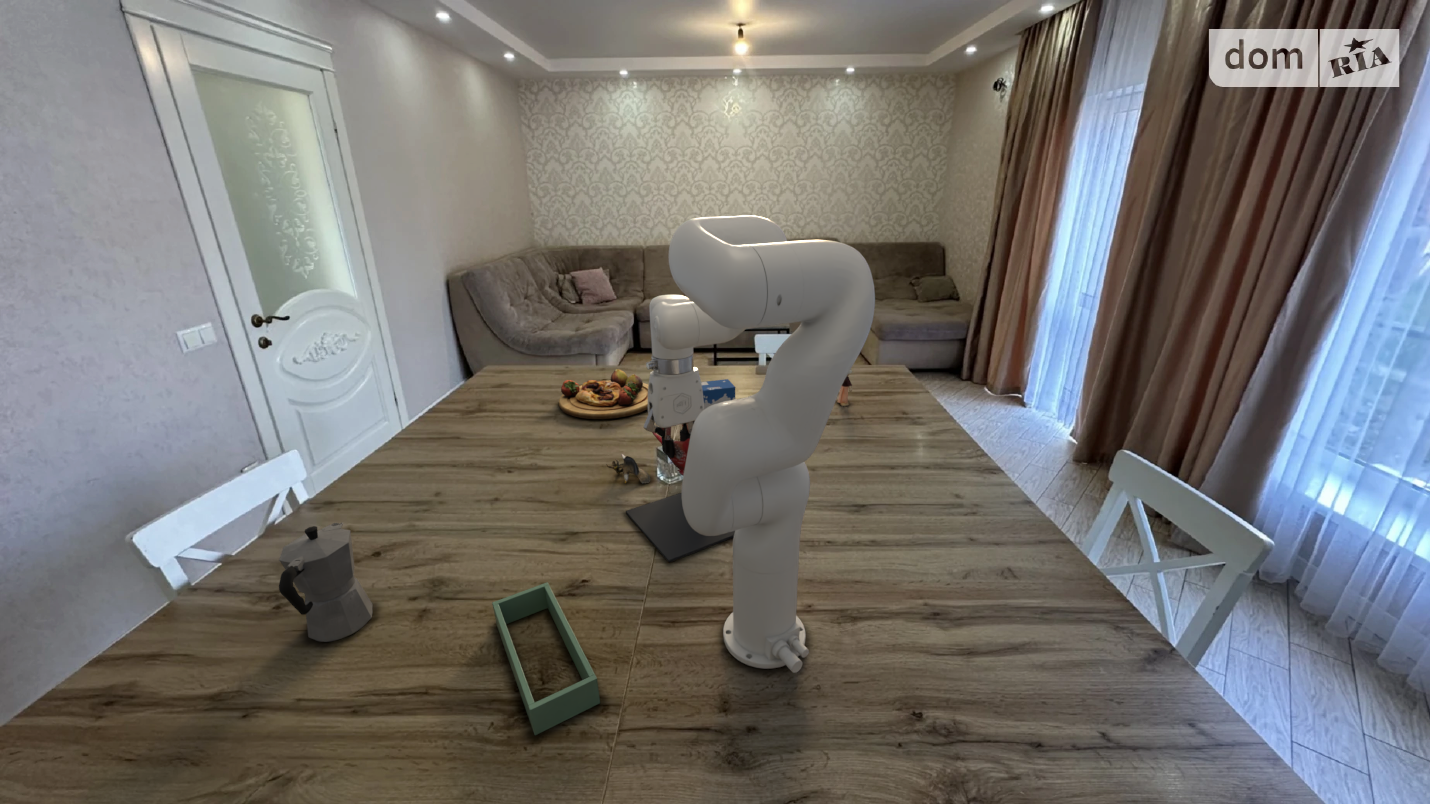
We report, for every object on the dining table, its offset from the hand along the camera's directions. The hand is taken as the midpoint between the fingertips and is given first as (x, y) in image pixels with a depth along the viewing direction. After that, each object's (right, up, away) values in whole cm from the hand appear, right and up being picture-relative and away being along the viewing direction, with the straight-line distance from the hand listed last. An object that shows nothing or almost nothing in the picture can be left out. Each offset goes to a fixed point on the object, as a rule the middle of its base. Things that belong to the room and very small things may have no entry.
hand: (677, 452), depth 108 cm
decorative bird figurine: (0, -4, +2) cm, 5 cm away
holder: (-18, -28, -26) cm, 43 cm away
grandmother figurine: (+48, +9, +66) cm, 82 cm away
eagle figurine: (-13, -9, +24) cm, 28 cm away
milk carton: (+7, -5, +33) cm, 34 cm away
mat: (0, -15, +6) cm, 16 cm away
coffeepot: (-53, -26, -19) cm, 62 cm away
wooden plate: (-27, +10, +72) cm, 77 cm away
